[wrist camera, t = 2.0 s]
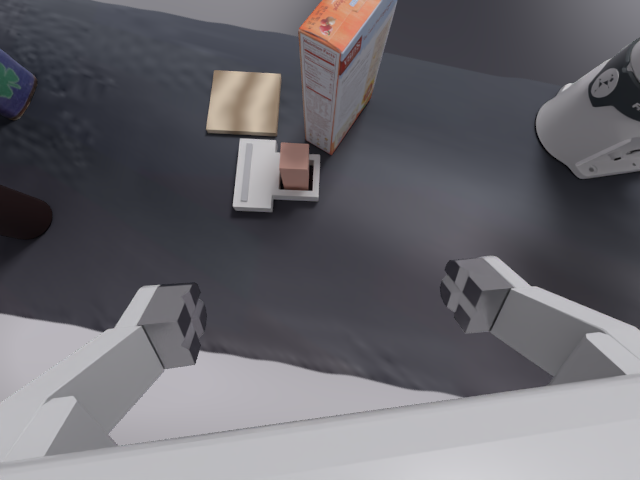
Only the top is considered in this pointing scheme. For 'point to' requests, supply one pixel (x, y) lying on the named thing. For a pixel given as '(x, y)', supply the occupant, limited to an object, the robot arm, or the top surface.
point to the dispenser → (266, 177)
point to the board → (244, 103)
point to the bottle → (22, 215)
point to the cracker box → (340, 64)
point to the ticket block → (294, 166)
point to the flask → (14, 87)
